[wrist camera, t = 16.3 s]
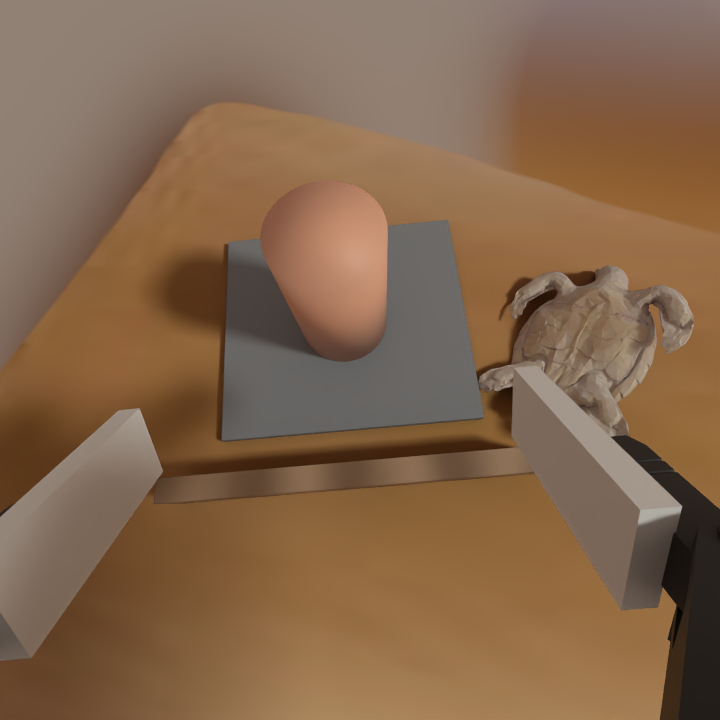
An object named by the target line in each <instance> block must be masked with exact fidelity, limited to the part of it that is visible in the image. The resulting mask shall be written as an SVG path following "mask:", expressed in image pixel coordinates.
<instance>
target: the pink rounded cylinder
mask: <svg viewBox="0 0 720 720" xmlns="http://www.w3.org/2000/svg"><path fill="white" fill-rule="evenodd" d="M260 241H261V249H262V253H263V255H264V258H265V260H266V262H267V264H268V266H269V268H270V270H271V272H272V274H273V276H274V278H275V280H276V282H277V284H278V286H279V288H280V290H281V292H282V294H283V296H284V298H285V300H286V302H287V304H288V306H289V308H290V310H291V311H292V313H293V315H294V317H295V319H296V321H297V323H298V325H299V327H300V329H301V331H302V333H303V335H304V337H305V339H306V341H307V343H308V344H309V346H310V347H311V348H312V349H313V350H314V351H315V352H316V353H317V354H319V355H320V356H322V357H324V358H326V359H329V360H332V361H338V362H348V361H354V360H357V359H360V358H362V357H364V356H366V355H368V354H369V353H370V352H372V351H373V350H374V349H375V348H376V347H377V346H378V344H379V343H380V341H381V340H382V338H383V336H384V333H385V329H386V314H387V247H388V227H387V221H386V218H385V215H384V212H383V210H382V209H381V207H380V205H379V204H378V203H377V201H376V200H375V199H374V198H373V197H372V196H371V195H369V194H368V193H367V192H365V191H364V190H362V189H360V188H358V187H356V186H354V185H351V184H348V183H344V182H338V181H319V182H313V183H309V184H305V185H303V186H300V187H298V188H296V189H294V190H292V191H290V192H288V193H287V194H285V195H284V196H283V197H282V198H280V199H279V200H278V201H277V202H276V203H275V204H274V205H273V207H272V208H271V209H270V211H269V212H268V214H267V216H266V217H265V220H264V222H263V225H262V229H261V237H260Z"/></svg>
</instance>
